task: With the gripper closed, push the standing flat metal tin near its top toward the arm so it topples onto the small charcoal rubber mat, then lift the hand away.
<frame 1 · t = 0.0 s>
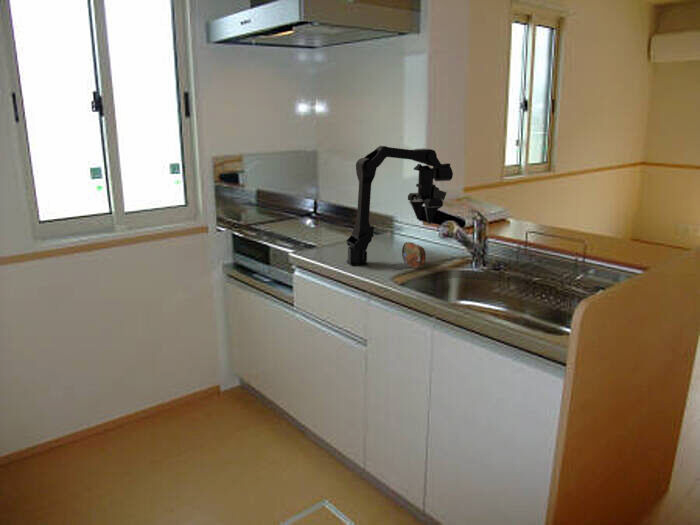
hand: (424, 221, 215), 15 cm above the countertop, tool pointing down, fingers open, 9 cm apart
tin: (413, 266, 208), on the countertop
drying mat: (400, 266, 206), on the countertop
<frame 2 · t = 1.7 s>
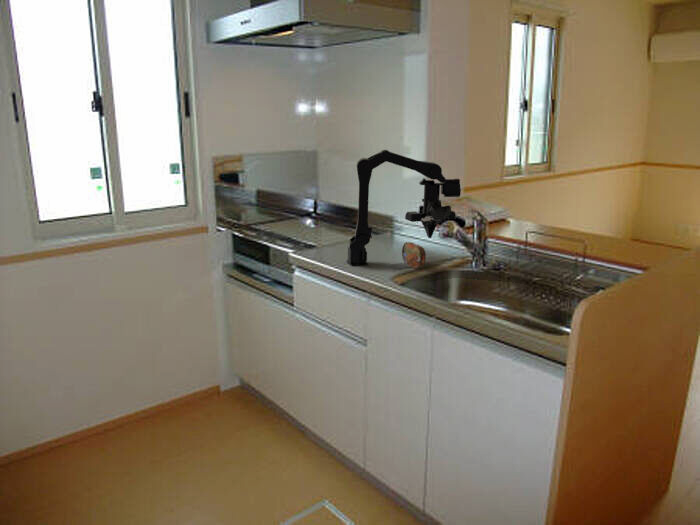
hand: (429, 237, 207), 10 cm above the countertop, tool pointing down, fingers closed
nothing on the countertop moved.
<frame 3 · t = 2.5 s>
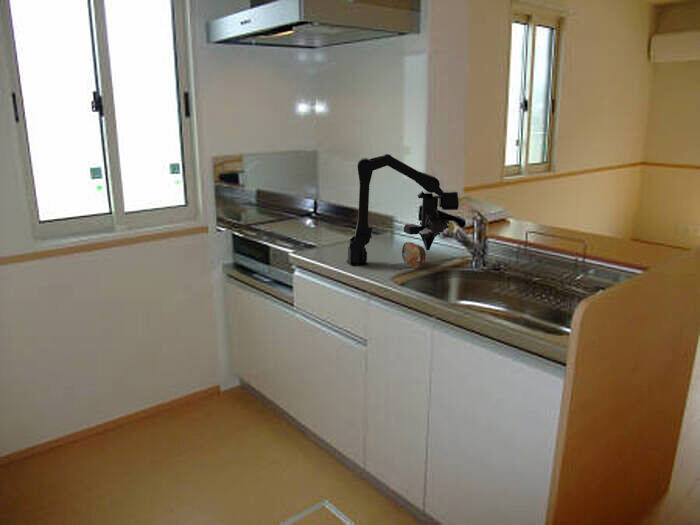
hand: (427, 250, 208), 5 cm above the countertop, tool pointing down, fingers closed
nothing on the countertop moved.
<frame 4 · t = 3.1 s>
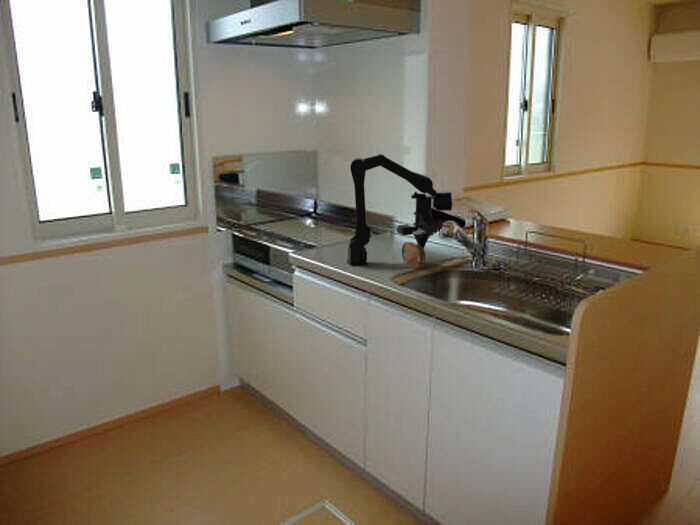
hand: (421, 250, 207), 5 cm above the countertop, tool pointing down, fingers closed
tin: (413, 265, 208), on the countertop, touching gripper
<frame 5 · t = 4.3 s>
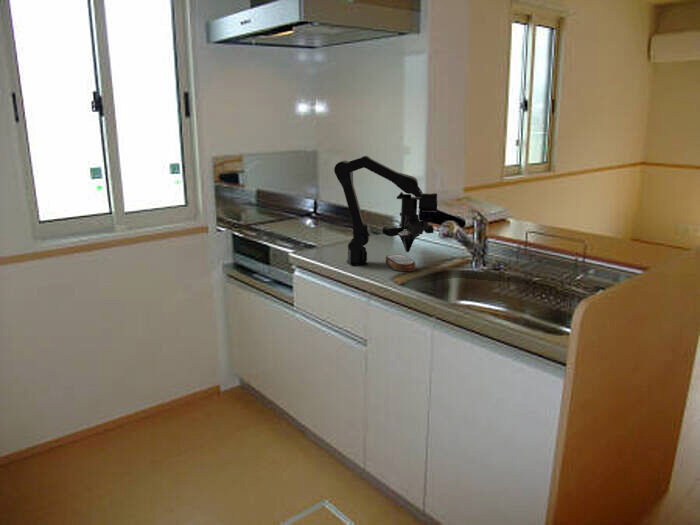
hand: (407, 251, 205), 5 cm above the countertop, tool pointing down, fingers closed
tin: (410, 260, 207), point 2 cm above the countertop, touching drying mat
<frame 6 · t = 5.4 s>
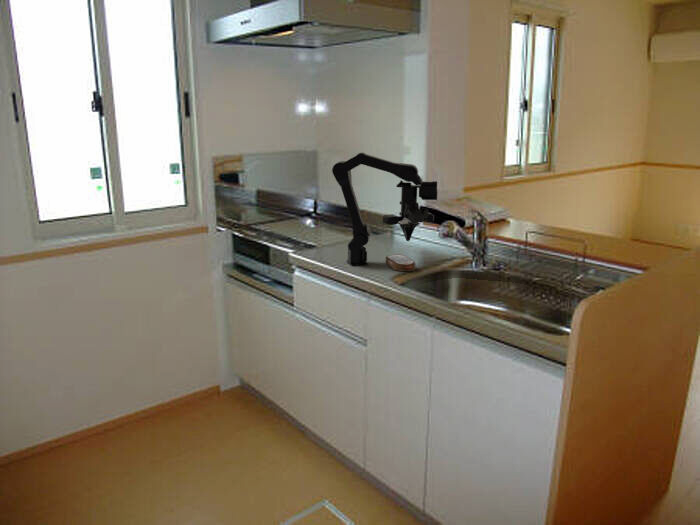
hand: (407, 240, 204), 10 cm above the countertop, tool pointing down, fingers closed
nothing on the countertop moved.
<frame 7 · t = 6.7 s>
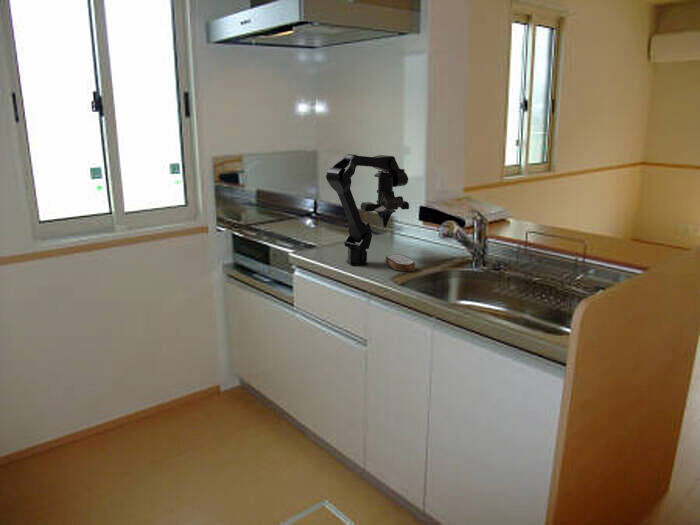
hand: (384, 227, 217), 12 cm above the countertop, tool pointing down, fingers closed
nothing on the countertop moved.
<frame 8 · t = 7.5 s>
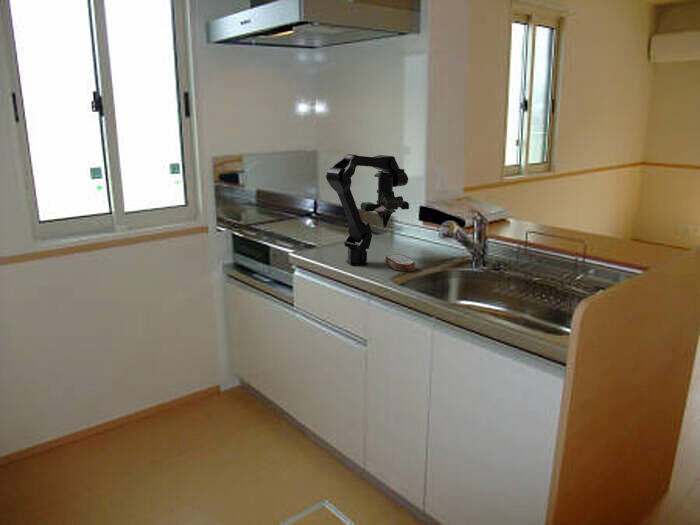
hand: (384, 227, 217), 12 cm above the countertop, tool pointing down, fingers closed
nothing on the countertop moved.
at the end: tin tilted 94°; tin touching drying mat; tin inside the target area (3.6 cm from its centre), point 2.0 cm above the countertop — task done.
